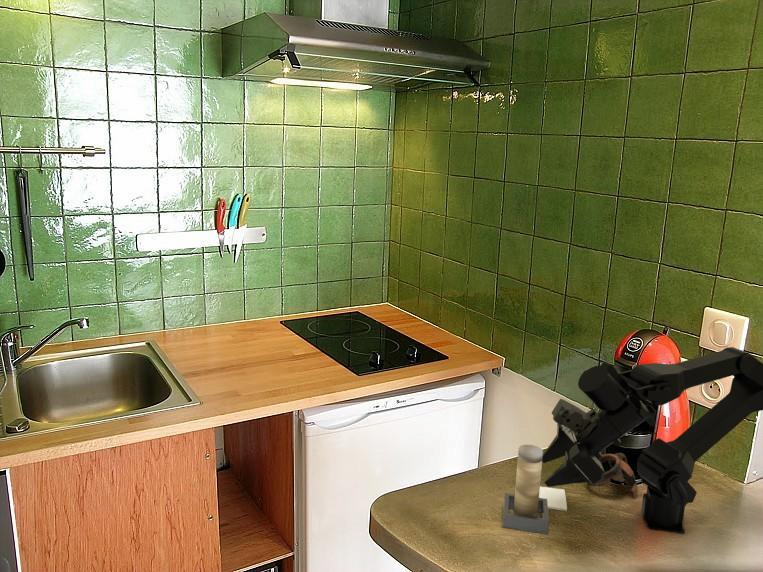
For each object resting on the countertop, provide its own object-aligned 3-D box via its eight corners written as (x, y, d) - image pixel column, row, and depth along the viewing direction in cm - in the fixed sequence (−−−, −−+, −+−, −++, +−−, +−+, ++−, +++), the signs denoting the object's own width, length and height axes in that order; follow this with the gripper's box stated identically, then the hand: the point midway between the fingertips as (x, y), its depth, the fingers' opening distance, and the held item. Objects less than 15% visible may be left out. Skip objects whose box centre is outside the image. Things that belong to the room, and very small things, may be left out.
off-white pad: (564, 491, 128) (564, 489, 128) (567, 511, 121) (567, 509, 121) (524, 486, 130) (524, 484, 130) (524, 505, 123) (524, 503, 123)
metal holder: (545, 510, 121) (547, 498, 121) (547, 534, 113) (548, 521, 113) (503, 504, 123) (504, 493, 122) (502, 527, 115) (503, 514, 114)
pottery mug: (638, 508, 124) (620, 474, 123) (593, 513, 130) (576, 480, 128) (647, 470, 133) (630, 438, 132) (605, 476, 139) (589, 445, 138)
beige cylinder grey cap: (536, 514, 120) (542, 446, 117) (537, 527, 115) (543, 456, 113) (513, 511, 121) (518, 443, 118) (512, 523, 116) (518, 453, 114)
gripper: (574, 372, 121) (512, 420, 124) (591, 408, 102) (517, 463, 106) (612, 414, 121) (549, 461, 125) (636, 458, 103) (560, 511, 107)
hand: (543, 472), depth 116 cm, fingers open, 9 cm apart
